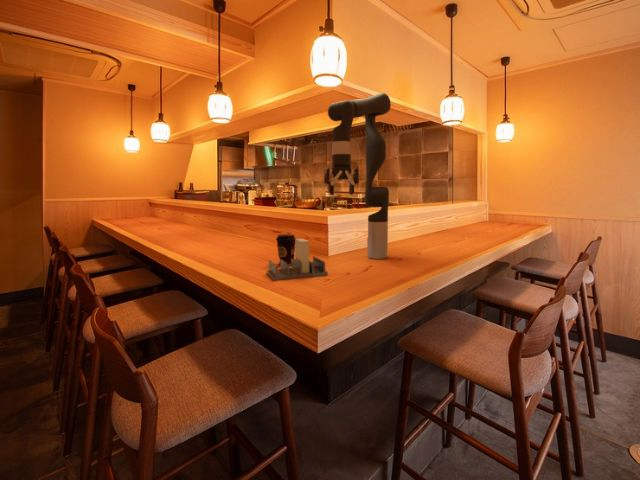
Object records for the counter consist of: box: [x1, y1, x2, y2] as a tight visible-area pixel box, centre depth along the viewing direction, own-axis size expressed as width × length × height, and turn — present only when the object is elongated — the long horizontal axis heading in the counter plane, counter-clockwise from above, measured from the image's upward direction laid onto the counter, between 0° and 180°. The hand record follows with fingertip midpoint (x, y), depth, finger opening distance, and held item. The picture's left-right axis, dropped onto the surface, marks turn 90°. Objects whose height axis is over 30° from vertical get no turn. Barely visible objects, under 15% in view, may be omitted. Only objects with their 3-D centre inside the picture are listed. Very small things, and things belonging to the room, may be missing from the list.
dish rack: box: [266, 255, 329, 281], centre depth 130 cm, size 12×21×5 cm, turn 111°
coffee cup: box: [275, 234, 297, 266], centre depth 148 cm, size 9×8×13 cm
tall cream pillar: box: [295, 238, 310, 273], centre depth 131 cm, size 8×3×12 cm, turn 20°
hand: (341, 194), depth 137 cm, fingers open, 8 cm apart
